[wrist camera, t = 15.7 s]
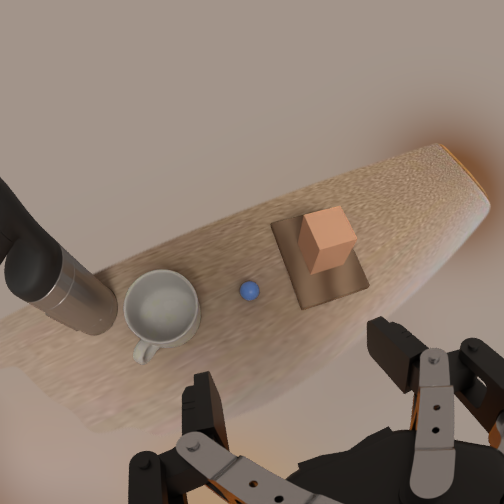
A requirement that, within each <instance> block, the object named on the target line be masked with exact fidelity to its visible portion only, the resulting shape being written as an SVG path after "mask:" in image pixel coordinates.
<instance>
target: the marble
mask: <svg viewBox="0 0 504 504" xmlns="http://www.w3.org/2000/svg"><path fill="white" fill-rule="evenodd" d="M240 294H241V296H242V297H243V298H244V299H245V300H254V299H256V298H257V297H258V295H259V287H258V285H257V284H256V283H255V282H252V281H247V282H245V283H243V284H242V286H241V288H240Z"/></svg>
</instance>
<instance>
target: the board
mask: <svg viewBox="0 0 504 504" xmlns="http://www.w3.org/2000/svg"><path fill="white" fill-rule="evenodd" d="M303 216H304V215H302V216H298V217H294V218H290V219H286V220H282V221H278V222H274V223H271V228H272V231H273V233H274V236H275V239H276V241H277V244H278V247H279V249H280V252H281V255H282V257H283V260H284V263H285V266H286V268H287V271H288V274H289V276H290V279H291V282H292V285H293V287H294V290H295V293H296V296H297V298H298V301H299V304H300V307H301V310H304V309H308V308H311V307H314V306H317V305H320V304H323V303H326V302H329V301H332V300H335V299H338V298H341V297H344V296H347V295H350V294H353V293H355V292H358V291H361V290H364V289H367V288H368V287H369V286H370V285H369V283H368V280H367V278H366V276H365V274H364V271H363V269H362V267H361V265H360V263H359V260H358V258H357V256H356V254H355V252H354V250H353V248H352V250H351V252H350V254H349V255H348V257H347V259H346V261H345V263H344V264H343V265H340V266H337V267H334V268H331V269H328V270H325V271H321V272H318V273H315V274H312V275H310V272H309V270H308V267H307V265H306V262H305V260H304V258H303V255H302V253H301V250H300V248H299V246H298V240H299V235H300V230H301V226H302V221H303Z"/></svg>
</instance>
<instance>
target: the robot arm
mask: <svg viewBox="0 0 504 504" xmlns="http://www.w3.org/2000/svg"><path fill="white" fill-rule="evenodd" d="M6 255H7V257H6ZM5 257H6V262H5V269H4V273H5V280H6V284H7V286H8V288H9V289H10V291H11V292H12V293H13V294H14V295H16V296H17V297H19V298H20V299H22V300H24V301H26V302H27V303H29V304H31V305H33V306H34V307H36V308H38V309H40V310H42V311H43V312H45V314H46V315H47V316H48V317H50V318H52V319H54V320H56V321H58V322H60V323H62V324H64V325H66V326H68V327H70V328H72V329H74V330H76V331H79V330H80V331H82V332H84V333H86V334H89V335H99V334H101V333H104V332H105V331H106V330H108V329H109V328H110V327H111V325H112V324H113V322H114V320H115V318H116V314H117V301H116V298H115V296H114V294H113V293H112V291H111V290H109V289H108V288H107V287H106V286H105V285H104V284H103V283H101V282H100V281H99V280H98V279H97V278H96V277H95V276H94V275H92V274H91V273H90V272H89V271H88V270H86V268H84V267H83V266H82V265H81V264H80V263H79V262H78V261H77V260H76V259H75V258H74V257H73V256H71V255H70V254H69V253H68V252H67V251H66V250H65V249H64V248H63V247H62V246H61V245H60V244H59V243H58V242H57V241H56V240H55V239H54V238H52V237H51V236H50V235H49V234H48V233H47V232H46V231H45V230H44V229H43V228H42V227H41V226H40V225H39V224H38V223H37V222H36V221H35V220H34V218H33V217H32V216H31V215H30V214H29V212H28V211H27V210H26V209H25V207H24V206H23V205H22V203H21V202H20V201H19V200H18V198H17V197H16V195H15V194H14V193H13V192H12V190H11V189H10V188H9V187H8V185H7V184H6V183H5V182H4V181H3V180H2V179H1V178H0V264H1V263H2V262H3V260H4V258H5ZM367 347H368V351H369V354H370V355H371V357H372V358H373V359H374V360H375V361H376V362H377V363H378V365H379V366H380V367H381V368H382V369H383V370H384V371H385V372H386V374H388V376H389V377H390V378H391V379H392V380H393V382H394V383H395V384H396V385H397V386H398V387H399V389H400V390H401V391H402V392H403V393H404V394H406V393H407V392H409V391H411V390H412V391H413V392H414V396H413V406H412V415H411V423H410V429H409V430H398V431H393V432H392V430H391V429H390V428H389V427H386V428H384V429H382V430H380V431H378V432H376V433H374V434H372V435H370V436H368V437H366V438H365V439H364V440H362V441H361V442H360V443H358V444H357V445H356V446H354V447H353V448H351V449H350V450H348V451H344V452H339V453H333V454H327V455H321V456H318V457H315V458H313V459H310V460H307V461H304V462H301V463H298V467H299V470H297V471H296V472H294V473H292V474H291V475H290V476H289V477H287V478H286V479H283V478H281V477H279V476H277V475H275V474H273V473H272V472H270V471H268V470H266V469H265V468H263V467H261V466H260V465H258V464H256V463H255V462H253V461H251V460H250V459H248V458H246V457H244V456H241V455H240V456H239V457H237V456H235V455H233V454H232V453H230V451H229V445H228V440H227V434H226V428H225V421H224V415H223V409H222V403H221V399H220V396H219V393H218V391H217V388H216V386H215V383H214V381H213V379H212V376H211V374H210V372H209V371H207V372H203V373H199V374H194V385H193V386H188V387H186V388H185V390H184V392H183V394H182V437H181V438H180V439H179V440H178V441H177V444H176V447H174V448H173V449H171V450H169V451H167V452H164V453H162V454H160V455H157V454H156V453H154V452H151V451H143V452H139V453H137V454H136V455H135V456H134V457H133V458H132V459H131V461H130V464H129V490H128V504H188V501H187V494H186V492H189V491H191V490H194V489H196V488H198V487H200V486H203V485H205V486H206V487H208V488H209V489H210V490H212V491H213V492H214V493H215V494H217V495H218V496H219V497H220V498H222V499H223V500H224V501H226V502H227V503H228V504H504V358H502V357H501V356H500V355H499V354H498V353H496V352H495V351H494V350H493V349H491V348H490V347H489V346H488V345H487V344H485V343H484V342H483V341H482V340H480V339H477V338H468V339H465V340H464V341H463V342H462V343H461V346H460V349H459V350H456V351H452V352H449V353H446V352H445V351H444V350H442V349H439V348H430V349H429V348H428V347H427V346H426V345H424V344H423V343H422V342H421V341H419V339H417V338H416V337H415V336H414V335H412V334H411V333H410V332H409V331H407V329H406V328H404V327H403V326H402V325H400V324H397V323H395V322H391V323H389V322H388V321H387V320H386V319H384V318H383V317H382V316H380V317H378V318H375V319H373V320H370V321H368V322H367ZM477 376H478V377H479V378H480V379H481V380H482V381H483V382H484V383H485V384H486V386H485V385H484V384H483V383H482V382H480V381H479V380H478V379H477ZM454 394H455V395H456V397H457V398H458V399H459V400H460V401H461V402H462V403H463V404H464V405H465V407H466V408H467V409H468V410H469V411H470V412H471V414H472V415H473V416H474V417H475V418H476V419H477V420H478V422H479V423H480V424H481V425H482V426H483V427H484V429H485V430H486V431H487V432H488V433H489V436H488V441H489V443H490V446H486V445H479V444H474V443H468V442H463V441H458V440H454Z"/></svg>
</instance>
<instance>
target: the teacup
mask: <svg viewBox="0 0 504 504" xmlns="http://www.w3.org/2000/svg"><path fill="white" fill-rule="evenodd" d="M123 310H124V317H125V320H126V322H127V325H128V326H129V328H130V329H131V330H132V332H133V333H134V334H136V335H137V336H138V337H139V338H141V340H140V341H139V342H138V343H137V345H136V347H135V349H134V353H133V358H134V360H135V361H136V362H137V363H139V364H142V365H144V364H147V363H148V362H149V361H150V360H151V358H152V357H153V356H154V354H155V353H156V351H157V350H158V349H159V348H160V347H163V348H173V347H177V346H180V345H182V344H184V343H186V342H187V341H189V340H190V339H191V338H192V337H193V336H194V334H195V333H196V331H197V329H198V327H199V324H200V320H201V310H200V305H199V301H198V297H197V294H196V291H195V289H194V287H193V286H192V284H191V283H190V282H189V281H188V280H187V279H186V278H185V277H184V276H182V275H181V274H179V273H177V272H175V271H172V270H166V269H158V270H153V271H150V272H147V273H145V274H143V275H142V276H140V277H139V278H138V279H136V280H135V281H134V282H133V284H132V285H131V286H130V288H129V289H128V291H127V294H126V297H125V300H124V307H123Z"/></svg>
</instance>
